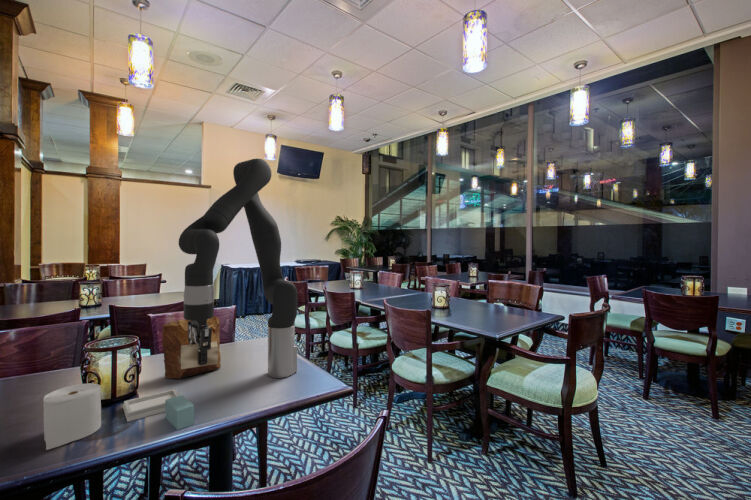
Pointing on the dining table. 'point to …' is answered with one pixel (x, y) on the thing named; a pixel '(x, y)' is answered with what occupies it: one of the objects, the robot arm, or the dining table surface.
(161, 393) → the jig
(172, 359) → the stone
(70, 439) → the toilet tissue
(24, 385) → the dining table surface
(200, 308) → the robot arm
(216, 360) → the tan wooden block
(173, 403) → the teal block
